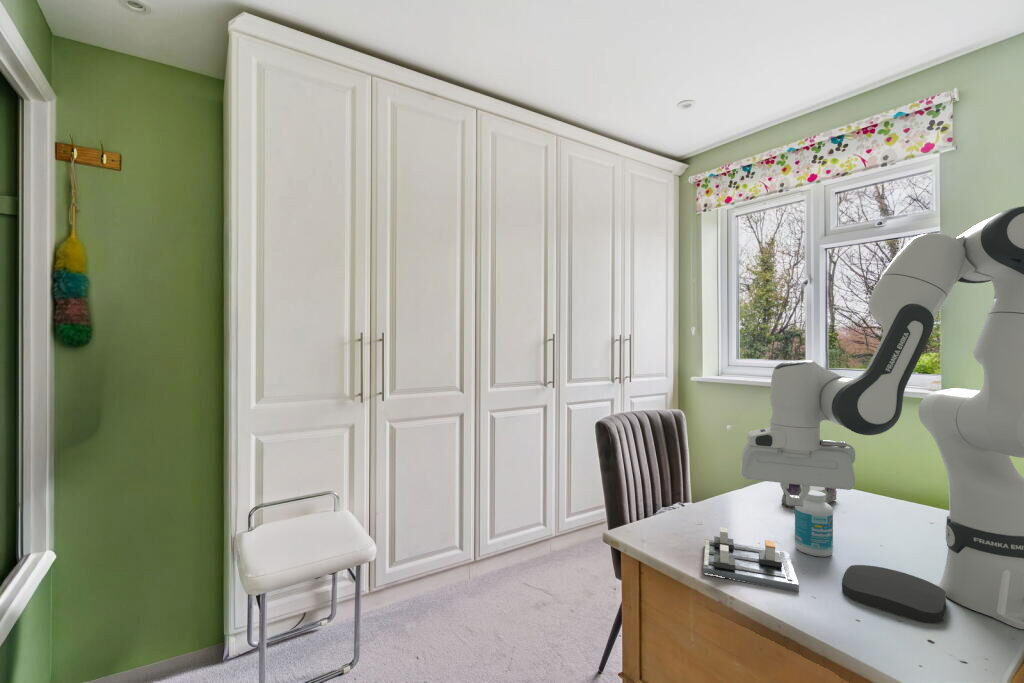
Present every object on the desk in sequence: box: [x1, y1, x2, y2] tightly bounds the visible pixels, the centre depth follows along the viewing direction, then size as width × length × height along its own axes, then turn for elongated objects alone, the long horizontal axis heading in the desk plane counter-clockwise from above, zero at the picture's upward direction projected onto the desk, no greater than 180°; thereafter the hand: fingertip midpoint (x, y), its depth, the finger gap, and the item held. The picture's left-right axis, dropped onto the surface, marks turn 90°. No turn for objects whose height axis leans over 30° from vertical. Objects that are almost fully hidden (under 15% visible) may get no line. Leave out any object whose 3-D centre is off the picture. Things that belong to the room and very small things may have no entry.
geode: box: [781, 484, 837, 510], centre depth 142 cm, size 20×12×10 cm, turn 125°
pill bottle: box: [794, 490, 834, 558], centre depth 108 cm, size 8×7×14 cm
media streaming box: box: [841, 564, 947, 625], centre depth 88 cm, size 15×15×3 cm
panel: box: [702, 539, 800, 593], centre depth 100 cm, size 17×16×2 cm
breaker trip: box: [759, 539, 782, 567], centre depth 99 cm, size 4×4×4 cm
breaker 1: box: [713, 526, 735, 550], centre depth 107 cm, size 4×4×4 cm
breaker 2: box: [714, 544, 735, 570], centre depth 97 cm, size 4×4×4 cm
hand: (794, 505), depth 97 cm, fingers closed
